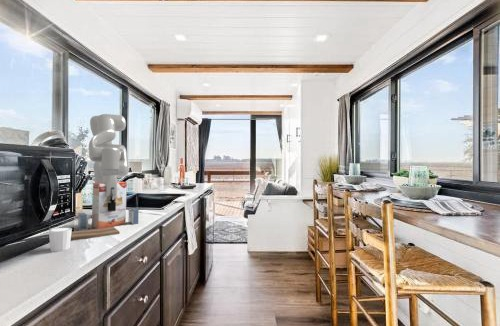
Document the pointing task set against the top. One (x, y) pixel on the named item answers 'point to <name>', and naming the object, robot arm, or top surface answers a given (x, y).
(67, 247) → the white short tapered cylinder
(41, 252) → the top surface
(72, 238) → the walnut board
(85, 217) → the twin grey pillars
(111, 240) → the top surface
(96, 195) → the cracker box
